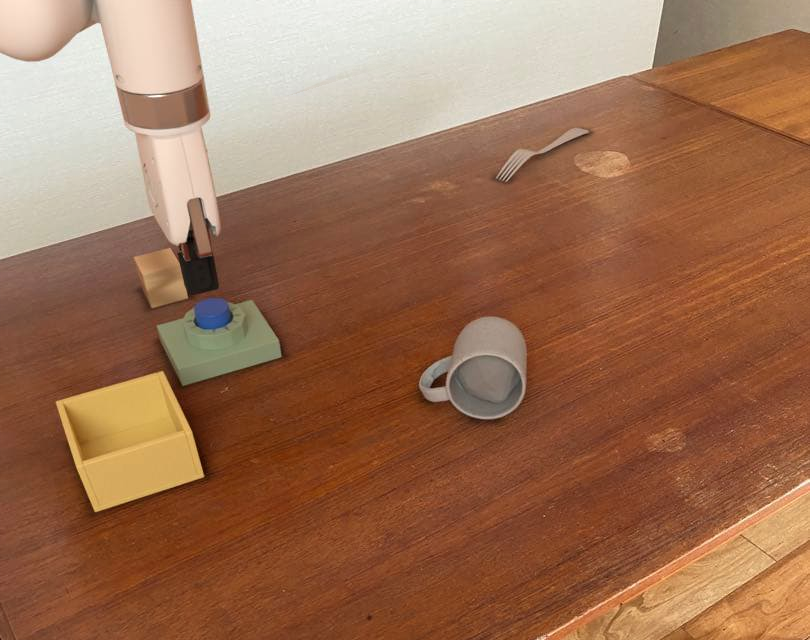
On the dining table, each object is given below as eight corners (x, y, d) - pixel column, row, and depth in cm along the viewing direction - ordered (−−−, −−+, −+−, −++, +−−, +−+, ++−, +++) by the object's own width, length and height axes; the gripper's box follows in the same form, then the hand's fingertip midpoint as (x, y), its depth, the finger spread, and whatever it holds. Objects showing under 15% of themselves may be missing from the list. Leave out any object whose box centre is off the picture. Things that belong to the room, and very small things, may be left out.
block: (151, 308, 101) (142, 274, 97) (142, 290, 103) (133, 256, 100) (188, 298, 102) (180, 264, 99) (178, 281, 104) (170, 247, 101)
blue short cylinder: (202, 334, 90) (199, 319, 89) (193, 317, 92) (189, 302, 91) (235, 325, 91) (232, 310, 90) (225, 308, 93) (222, 294, 92)
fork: (589, 149, 132) (592, 130, 130) (509, 183, 119) (511, 162, 118) (573, 144, 133) (576, 125, 131) (492, 177, 121) (495, 157, 119)
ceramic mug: (525, 372, 90) (529, 307, 84) (523, 422, 84) (528, 356, 79) (423, 369, 91) (421, 304, 86) (415, 418, 86) (412, 353, 80)
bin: (95, 512, 78) (76, 467, 74) (73, 446, 84) (55, 401, 80) (204, 477, 81) (192, 431, 76) (175, 415, 87) (163, 370, 83)
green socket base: (182, 386, 90) (173, 354, 87) (160, 342, 96) (152, 310, 93) (282, 357, 93) (276, 325, 90) (255, 316, 99) (249, 285, 96)
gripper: (103, 80, 79) (148, 263, 93) (142, 141, 70) (186, 335, 83) (183, 66, 81) (216, 247, 95) (231, 124, 72) (260, 316, 85)
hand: (202, 288), depth 89 cm, fingers closed
